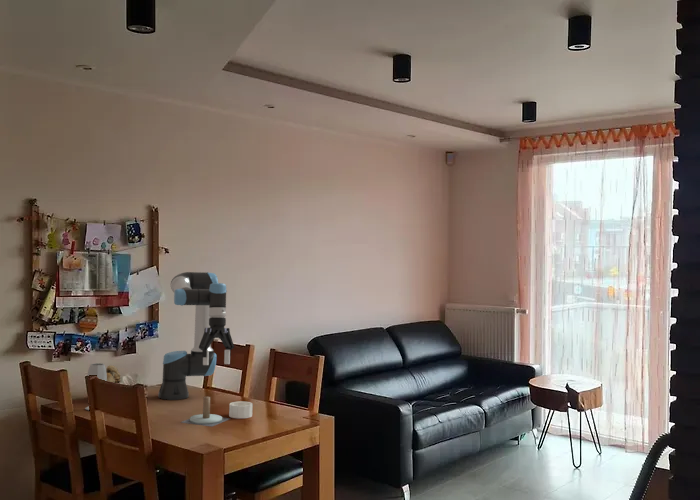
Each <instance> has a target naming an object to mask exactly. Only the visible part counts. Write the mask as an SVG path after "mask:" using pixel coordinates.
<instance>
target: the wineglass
mask: <svg viewBox="0 0 700 500" xmlns="http://www.w3.org/2000/svg"><path fill="white" fill-rule="evenodd" d="M106 369H107V367H106V364H105V363H102V362H100V363H97V362H95V363H90V364H89V367H88V371H87V375H86V377H87V376H89V375H97V377H98V378H99V379H102V380H105V381H107V373H106ZM89 406H90V405H88V406H86V407H84V409H85V410H86V411H89Z"/></svg>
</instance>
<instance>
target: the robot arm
mask: <svg viewBox="0 0 700 500" xmlns="http://www.w3.org/2000/svg"><path fill="white" fill-rule="evenodd" d="M218 279H219V278H218V276H217V275H216V273H214V272H201V271H200V272H196V271H195V272H194V271H193V272H192V271H191V272H190V271H186V272H181V273H178V274H177V275H175V276H174V277H172V279H171V281H170V289H171V291H172V292H173V304H175V305H176V306H182V307H183V306H195V314H194V336H193V337H194V338H193V339H194V344H193V347H192V348H191V350H190V353H188V351H186V350H175V351H169V352H166V353H165V354H164V355H163V358H162V359H163V361H162V382H161V385H160V388H159V391H158V394H157V396H158V399H160V398H161V400H166V399H167V400H166V401H168V400H170V401H172V400H173V401H174V400H175V401H176V400H186V399H188V398H189V394H190V393H189V389H188V385H187V382H186V381H187V380H186V379H187V377H206V376H207V377H208V376H212V375H213V374H214V373H215V370H216V366H217V358H218V357H217V354H216V353H215V352H214V349H213V348H212V343H213V341H214V339H219V340H220V341H221V343H222V345H223V346H224V348H225V349H224V359H223V362H224V365H230V364H231V353H232V351H231V350H234V348H235V345H234V341H233V339H232V336H231V332H230V331H231V330H230V327H225V326H226V325H227V324H226V322H227V318H226V317H227V292H228V291H227V285H226V283H221V282H219V280H218Z"/></svg>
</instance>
